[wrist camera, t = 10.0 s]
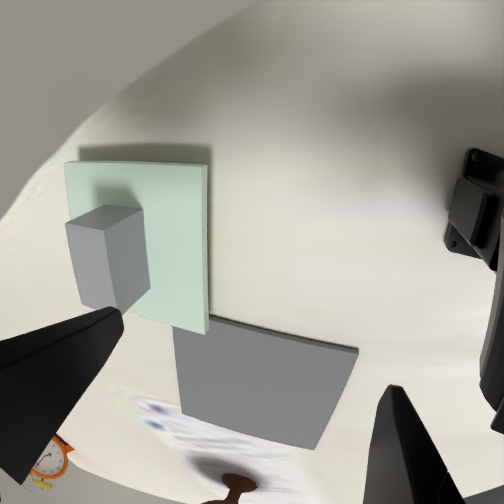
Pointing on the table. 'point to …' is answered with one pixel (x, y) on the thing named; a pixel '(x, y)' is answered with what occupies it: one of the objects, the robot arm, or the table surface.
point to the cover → (140, 238)
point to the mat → (261, 381)
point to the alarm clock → (51, 463)
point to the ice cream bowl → (234, 488)
